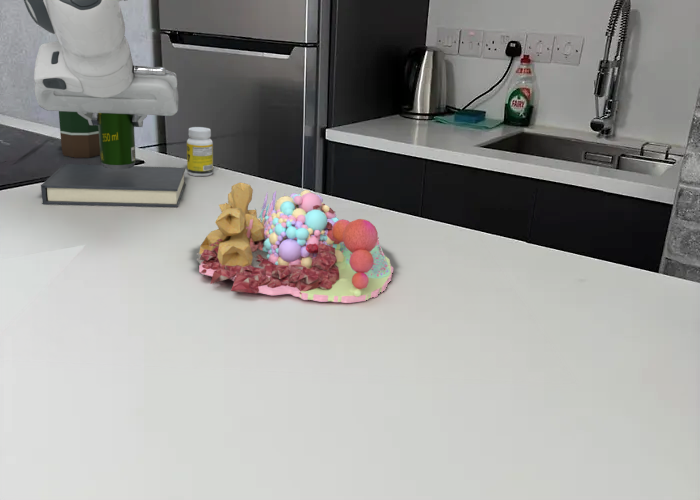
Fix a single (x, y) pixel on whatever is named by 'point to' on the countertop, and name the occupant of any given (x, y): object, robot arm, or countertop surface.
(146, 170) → the book
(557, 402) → the countertop surface
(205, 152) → the supplement bottle
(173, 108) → the robot arm
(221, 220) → the candy landscape model
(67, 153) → the beer bottle
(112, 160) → the beer can
